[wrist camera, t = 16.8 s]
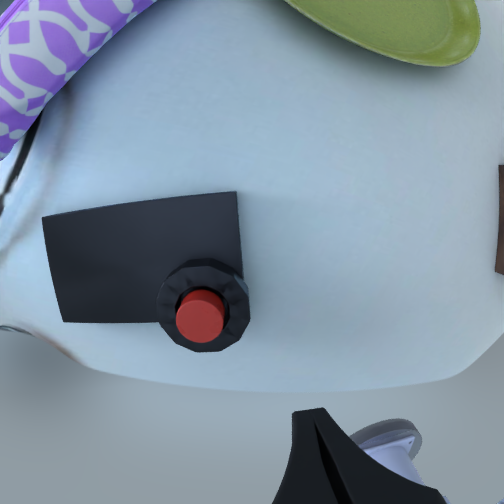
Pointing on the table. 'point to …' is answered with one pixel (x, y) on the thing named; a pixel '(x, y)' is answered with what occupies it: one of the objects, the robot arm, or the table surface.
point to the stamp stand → (501, 226)
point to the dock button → (200, 316)
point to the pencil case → (49, 52)
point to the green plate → (401, 27)
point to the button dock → (150, 263)
